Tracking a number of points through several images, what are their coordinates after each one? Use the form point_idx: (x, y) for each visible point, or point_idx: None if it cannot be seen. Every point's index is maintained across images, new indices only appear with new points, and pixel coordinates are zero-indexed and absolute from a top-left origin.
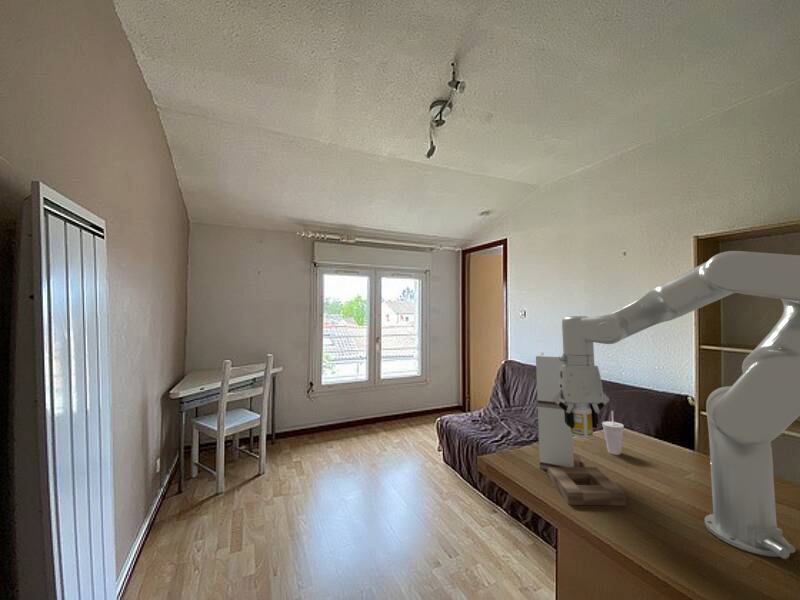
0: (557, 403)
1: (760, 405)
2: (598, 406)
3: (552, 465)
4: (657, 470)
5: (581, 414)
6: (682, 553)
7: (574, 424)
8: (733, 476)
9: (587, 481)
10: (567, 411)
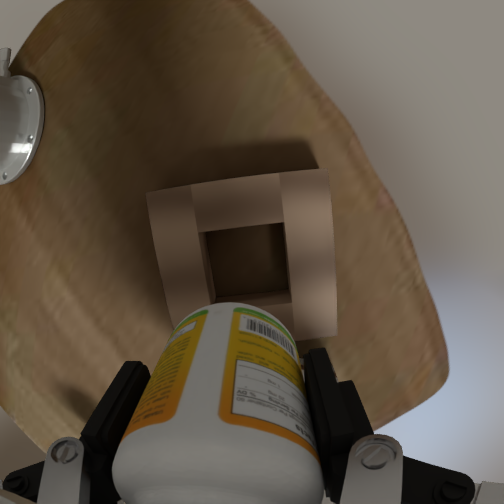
0: (491, 487)
1: None
2: (44, 484)
3: (303, 368)
4: (52, 370)
5: (238, 421)
6: (132, 29)
7: (296, 373)
8: None
9: (222, 300)
10: (383, 451)
